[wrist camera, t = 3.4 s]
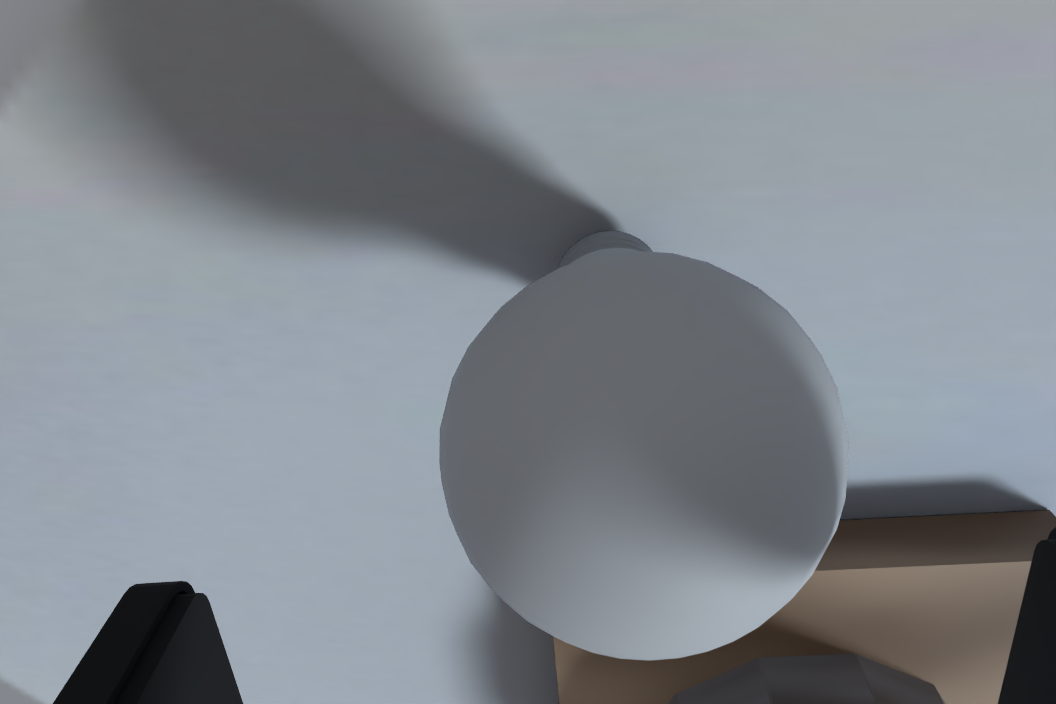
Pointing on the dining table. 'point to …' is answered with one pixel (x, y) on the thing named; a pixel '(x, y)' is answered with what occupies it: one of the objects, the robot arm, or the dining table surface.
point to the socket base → (857, 625)
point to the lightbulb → (643, 453)
